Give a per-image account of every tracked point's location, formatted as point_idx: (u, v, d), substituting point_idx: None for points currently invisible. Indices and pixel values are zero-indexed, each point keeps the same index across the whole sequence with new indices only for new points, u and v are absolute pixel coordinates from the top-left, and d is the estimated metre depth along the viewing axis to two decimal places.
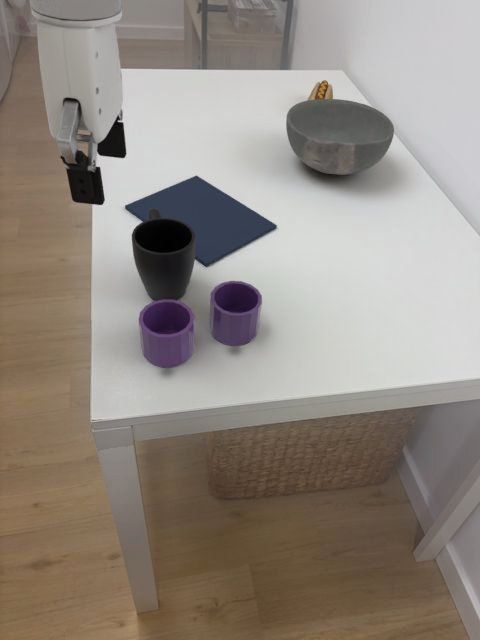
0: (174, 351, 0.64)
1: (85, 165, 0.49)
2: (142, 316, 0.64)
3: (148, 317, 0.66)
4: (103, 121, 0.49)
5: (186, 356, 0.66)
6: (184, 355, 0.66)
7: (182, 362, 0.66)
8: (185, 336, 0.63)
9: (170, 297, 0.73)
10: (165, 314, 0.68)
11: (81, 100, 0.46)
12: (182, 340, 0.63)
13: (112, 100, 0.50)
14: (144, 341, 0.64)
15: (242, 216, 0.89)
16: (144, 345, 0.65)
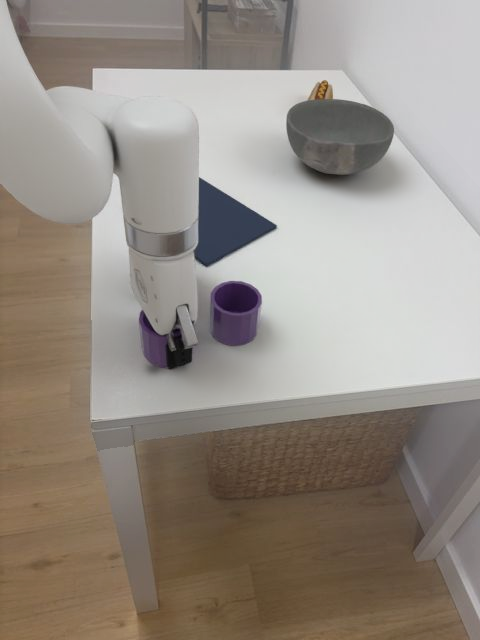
0: None
1: None
2: (142, 316, 0.64)
3: None
4: None
5: None
6: None
7: None
8: None
9: None
10: None
11: (189, 303, 0.57)
12: None
13: None
14: (144, 341, 0.64)
15: (242, 216, 0.89)
16: (144, 345, 0.65)
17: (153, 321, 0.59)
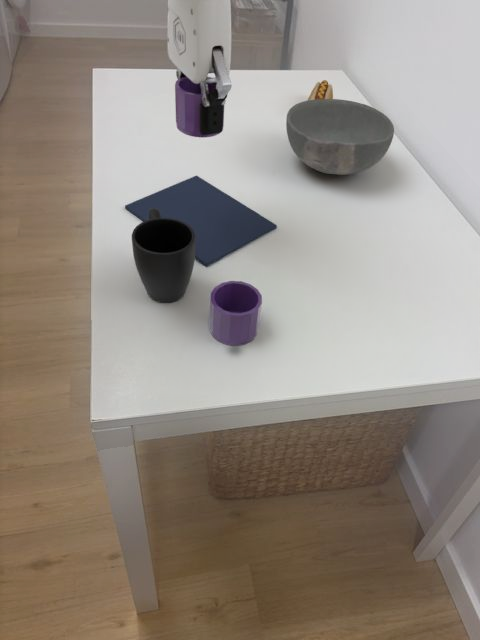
0: None
1: None
2: (178, 83, 0.70)
3: None
4: None
5: None
6: None
7: None
8: None
9: (170, 297, 0.73)
10: (198, 94, 0.74)
11: (224, 46, 0.63)
12: None
13: None
14: (180, 106, 0.70)
15: (242, 216, 0.89)
16: (179, 112, 0.71)
17: (190, 69, 0.65)
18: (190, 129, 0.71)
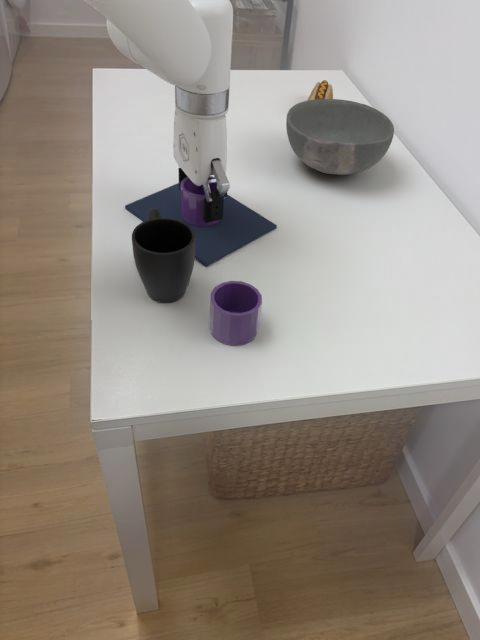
0: None
1: None
2: (183, 183, 0.84)
3: (187, 187, 0.86)
4: None
5: None
6: None
7: (213, 223, 0.86)
8: None
9: (170, 297, 0.73)
10: (199, 188, 0.87)
11: (221, 158, 0.76)
12: None
13: None
14: (184, 203, 0.84)
15: (242, 216, 0.89)
16: (184, 207, 0.84)
17: (193, 175, 0.78)
18: (193, 220, 0.85)
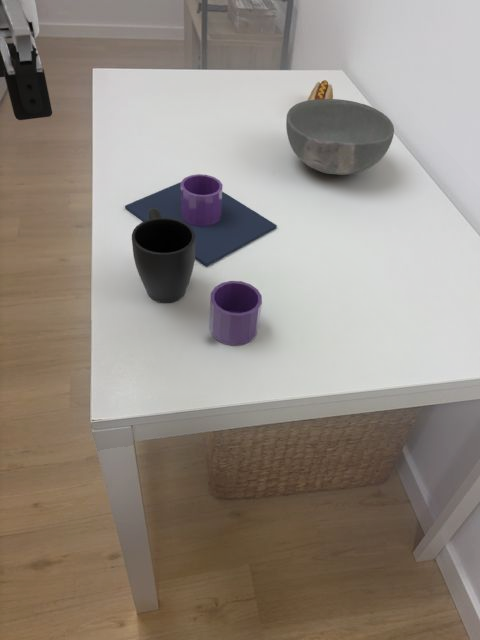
0: (207, 211, 0.84)
1: None
2: (183, 183, 0.84)
3: (187, 187, 0.86)
4: None
5: (215, 218, 0.86)
6: (214, 216, 0.85)
7: (213, 223, 0.86)
8: (216, 198, 0.83)
9: (170, 297, 0.73)
10: (199, 188, 0.87)
11: None
12: (214, 201, 0.83)
13: None
14: (184, 203, 0.84)
15: (242, 216, 0.89)
16: (184, 207, 0.84)
17: None
18: (193, 220, 0.85)
